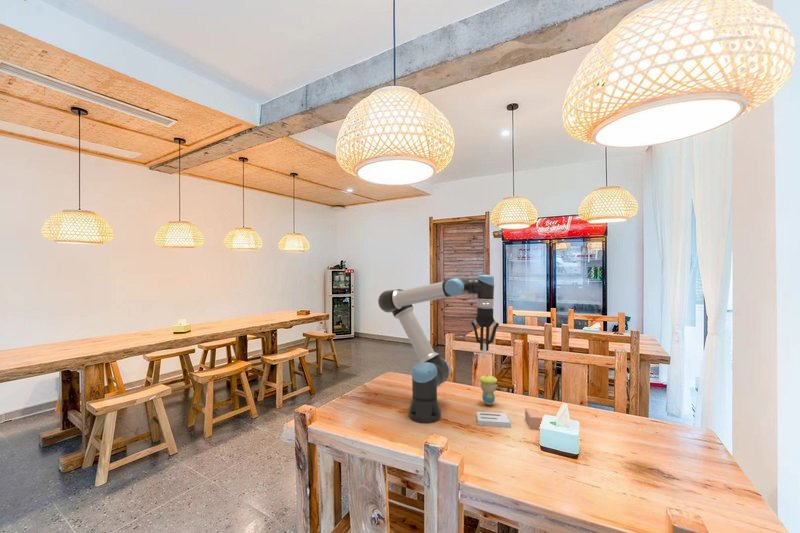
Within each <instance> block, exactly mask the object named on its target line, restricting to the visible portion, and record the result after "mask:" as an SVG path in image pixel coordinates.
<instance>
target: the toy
mask: <svg viewBox="0 0 800 533" xmlns="http://www.w3.org/2000/svg"><path fill="white" fill-rule="evenodd" d="M478 380H479V382H480V389H481V391H482V393H481V394H482V395H481V397H482V401H483V402H484V404H485V405H486V406H487V405H488V406H491V405H493V403H494V402H495V399H496V396H495V393H494V392H496V391H497V387H498V384H497V382H498V379H497V378H496V377H495V376H492V375H488V374H485V375H482V376H480V377H479V378H478Z"/></svg>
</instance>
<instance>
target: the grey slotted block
mask: <svg viewBox="0 0 800 533" xmlns="http://www.w3.org/2000/svg"><path fill="white" fill-rule="evenodd" d="M476 420H477V421H476V422H477V426H485V427H498V428H499V427H500V428H512V422H511V420H510V416H509V413H499V412H484V411H476Z"/></svg>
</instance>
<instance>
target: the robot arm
mask: <svg viewBox="0 0 800 533" xmlns="http://www.w3.org/2000/svg"><path fill="white" fill-rule="evenodd" d="M494 292H495V279H494V276H493V275H492V274H478V275H477V278H468V277H455V278H450V279H448V280H443V281H440V282H436V283H435V282H434V283H431V284H426V285H425V284H424V285H422V286H417V287H412V288H407V289H400V288H399V289H388V290H385V291H383V292H381V294H379V297H378V299H377V302H378V303H377V304H378V306H379V308H380V310H381V311H383V312H385V313H389V314H390V313H392V315H393V317H394V318H395V319H397V320H398V321H399V323H400V324H401V326H402V329H403V330H404V333H405V334H406V336H407V338H408V340H409V342H410V344H411V346H412V348H413V349H414V352H415V353H416V355H417V357H418V359H419V362H418V363H417V364H415V365H414V366H413V367H412V372H411V378H412V379H411V380H412V381H411V384H412V385H411V386H412V388H411V390H412V391H411V392H412V394H411V395H412V399H411V402H410V405H409V408H408V417H409V419H410V420H413V421H414V422H417V423H423V424H429V423H435V422H438V421H439V420H440V419H441V418H442V411H441V410H442V409H441V407H440V404H439V401H438V388H439V387H440V386H441V385H442V384H444V383H445V382H446V381H447V380H448V378H449V377H450V374H451V368H450V365H449V363H448V362H447V361H446V360H445V359H444V358H442V357H441V355H440V354H439V352H435V350H434V349H433V346H431V343H430V340H428V337H427V335H426V334H425V332H424V331H423V329H422V326H421V325H420V322H419V321H418V319H417V317H416V315H415V313H414V306H413V305H415V304H420V303H425V302H426V303H427V302H429V301H435V300H440V299H444V298H450V297H451V298H452V297H455V296H456V297H457V296H460V295H477V299H476V301H477V302H476V306H477V308H476V317H475V319H474V320H473V321H471V322H470V323H471V326H472V327H473V332H474V336H475V340H476V342H477V343H479V349H480V351H481V352H482V353H481V356H482V357H481V358H482V359H486V358H487V352H488V351H489V349H490V348H489V347H490V346H489V345H490V344H492V343H493V342H494V339H495V336H496V332H497V328H498V327H499V326H500V323H498V322H497V321H496V320H495V318H494V303H495V302H494V301H495V300H494V298H495V297H494V295H495V294H494ZM477 324H478V325H479V328H480V329H479V330H480V331H479V332H480V333H478V330H477ZM492 325H493V326H492ZM491 326H492V331H491V334H490V327H491ZM484 328H485V342H484ZM479 334H480V336H479ZM479 337H480V338H479Z"/></svg>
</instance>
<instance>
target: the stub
mask: <svg viewBox="0 0 800 533" xmlns="http://www.w3.org/2000/svg"><path fill="white" fill-rule="evenodd" d="M524 416H525V417H524V418H525V419H524V420H525V422H526V424H527V426H528V428H529V429H530V430H539V427H540V424H541V421H542V422H543V418H542V415H541V414H540V413H539V410H538V409H537V408H524Z"/></svg>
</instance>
